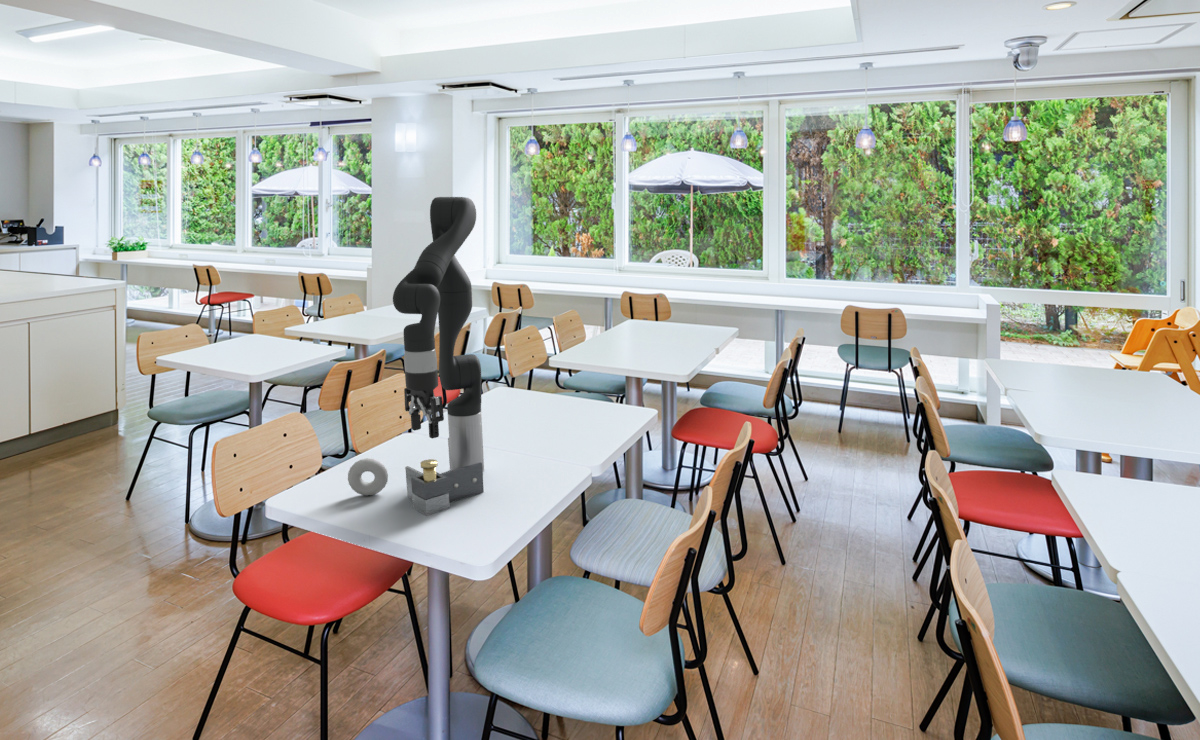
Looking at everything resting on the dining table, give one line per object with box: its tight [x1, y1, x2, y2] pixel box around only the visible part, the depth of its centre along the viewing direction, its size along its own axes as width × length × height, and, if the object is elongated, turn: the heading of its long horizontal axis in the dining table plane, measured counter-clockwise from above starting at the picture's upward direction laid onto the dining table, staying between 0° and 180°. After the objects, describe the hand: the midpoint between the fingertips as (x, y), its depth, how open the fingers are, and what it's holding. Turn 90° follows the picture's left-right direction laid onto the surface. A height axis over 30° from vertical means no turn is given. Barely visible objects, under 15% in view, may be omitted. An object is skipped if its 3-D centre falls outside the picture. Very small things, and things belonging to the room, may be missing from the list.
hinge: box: [404, 462, 485, 516], centre depth 183 cm, size 14×18×8 cm
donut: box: [347, 457, 389, 496], centre depth 185 cm, size 10×4×10 cm, turn 100°
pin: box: [420, 458, 438, 482], centre depth 176 cm, size 4×4×12 cm
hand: (425, 433), depth 173 cm, fingers open, 8 cm apart
